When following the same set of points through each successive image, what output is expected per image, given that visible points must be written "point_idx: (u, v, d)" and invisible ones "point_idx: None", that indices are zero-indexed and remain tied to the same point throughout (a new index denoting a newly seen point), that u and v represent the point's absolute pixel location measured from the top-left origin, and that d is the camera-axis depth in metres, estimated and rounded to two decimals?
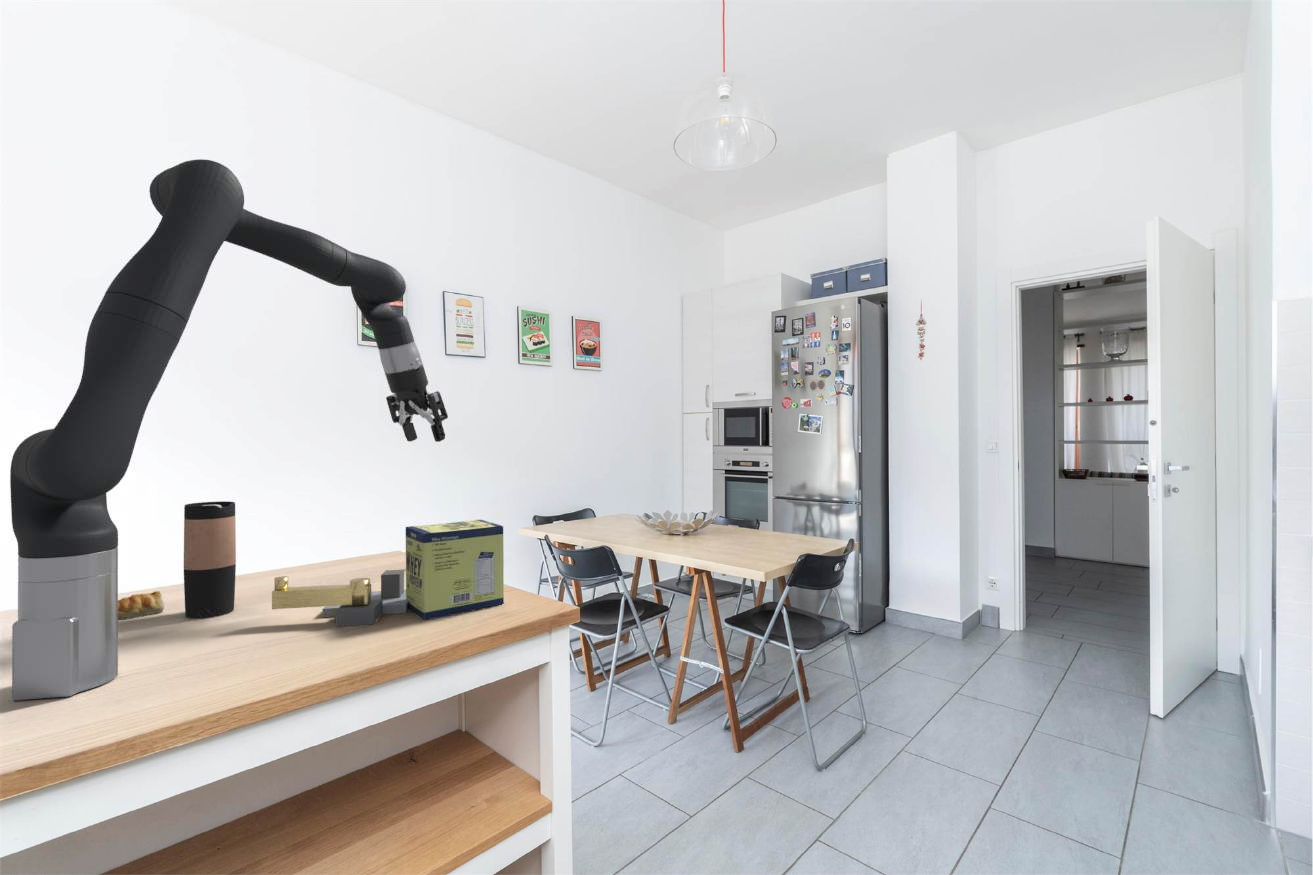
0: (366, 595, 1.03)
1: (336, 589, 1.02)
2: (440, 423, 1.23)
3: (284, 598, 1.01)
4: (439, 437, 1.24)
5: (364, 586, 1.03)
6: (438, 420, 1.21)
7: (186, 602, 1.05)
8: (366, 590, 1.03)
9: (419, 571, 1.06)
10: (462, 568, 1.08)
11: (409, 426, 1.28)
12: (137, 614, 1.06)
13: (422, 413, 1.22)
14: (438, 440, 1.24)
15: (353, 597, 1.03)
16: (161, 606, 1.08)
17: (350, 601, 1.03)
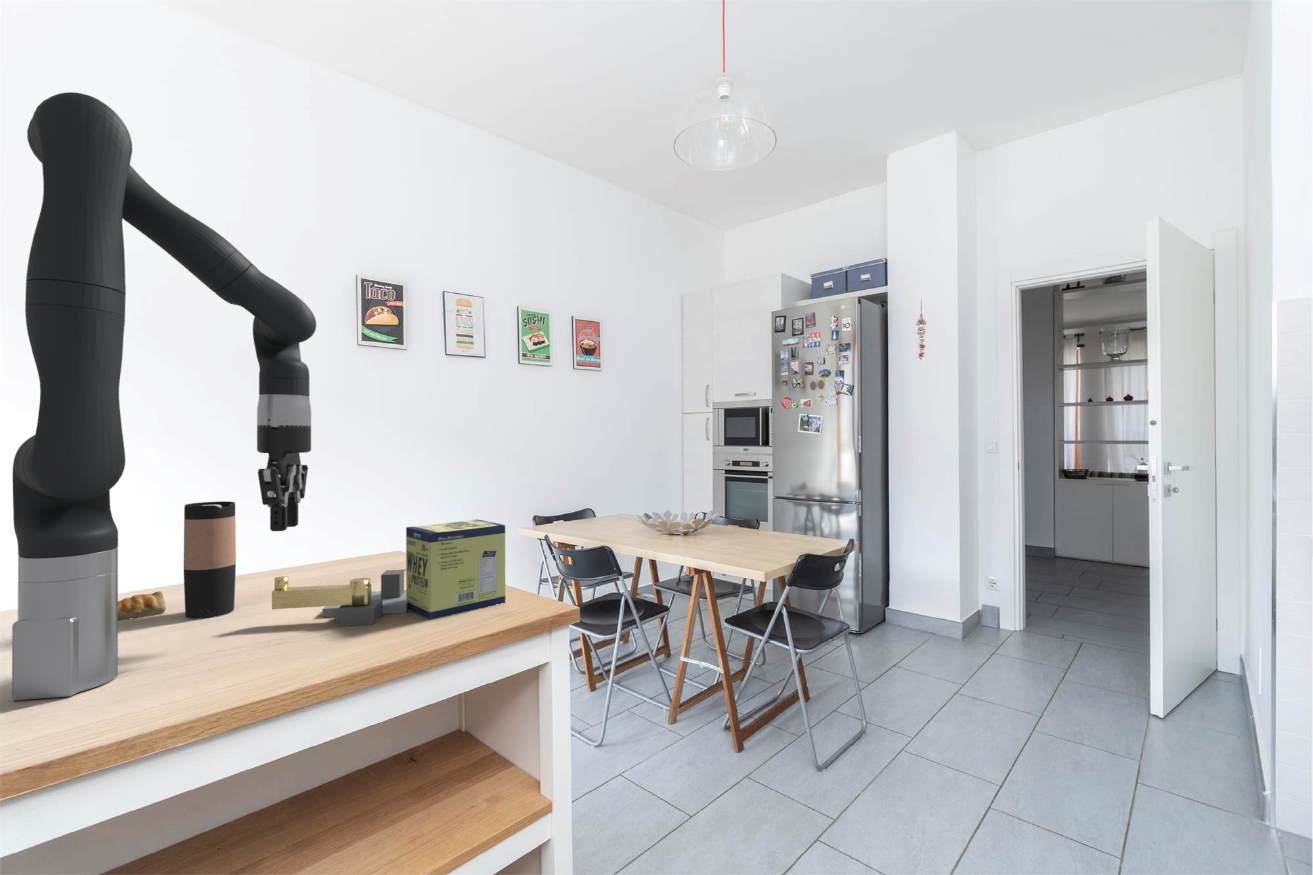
0: (366, 595, 1.03)
1: (336, 589, 1.02)
2: (278, 508, 0.94)
3: (284, 598, 1.01)
4: None
5: (364, 586, 1.03)
6: None
7: (186, 602, 1.05)
8: (366, 590, 1.03)
9: (425, 571, 1.06)
10: (466, 567, 1.09)
11: (289, 507, 0.99)
12: (139, 615, 1.06)
13: None
14: (272, 529, 0.94)
15: (353, 597, 1.03)
16: (163, 607, 1.08)
17: (350, 601, 1.03)
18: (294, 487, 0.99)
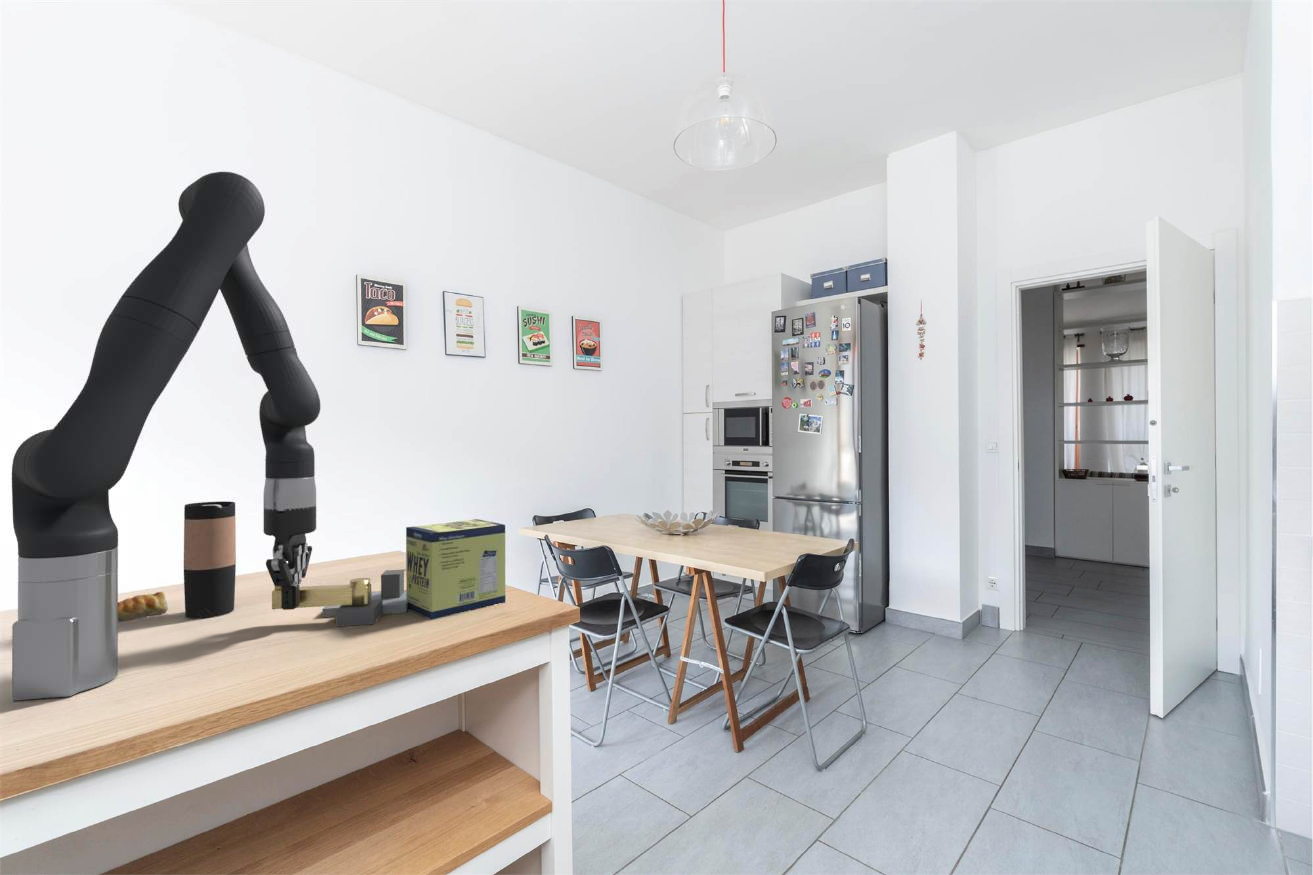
0: (366, 595, 1.03)
1: (336, 589, 1.02)
2: (288, 588, 0.98)
3: None
4: (283, 604, 0.98)
5: (364, 586, 1.03)
6: None
7: (186, 602, 1.05)
8: (366, 590, 1.03)
9: (426, 571, 1.06)
10: (467, 567, 1.10)
11: None
12: (141, 615, 1.05)
13: None
14: (283, 607, 0.98)
15: (353, 597, 1.03)
16: (165, 607, 1.08)
17: (350, 601, 1.03)
18: None
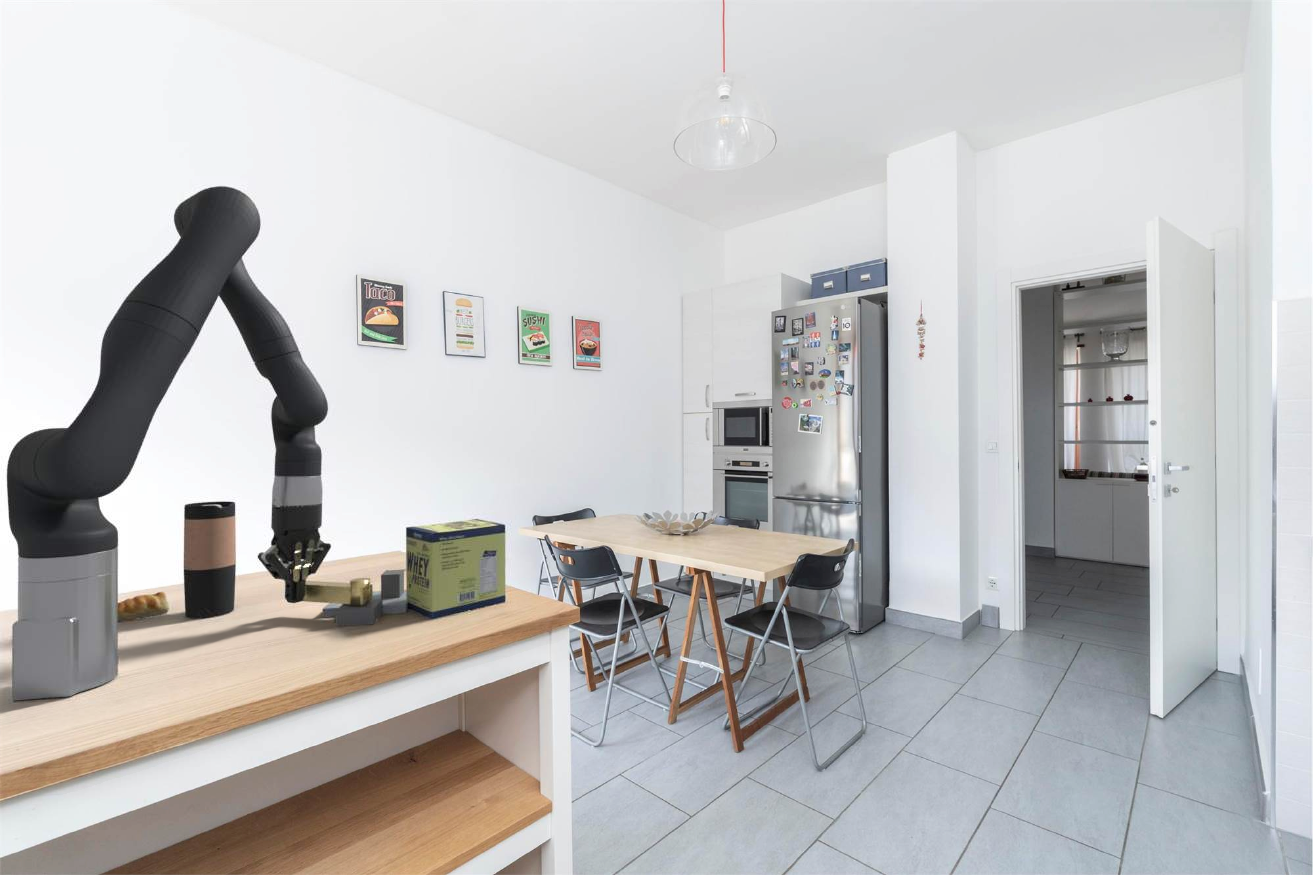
0: (362, 596, 1.03)
1: (337, 587, 1.04)
2: (289, 582, 1.02)
3: None
4: None
5: (360, 586, 1.03)
6: None
7: (186, 602, 1.05)
8: (362, 591, 1.03)
9: (426, 571, 1.06)
10: (467, 567, 1.10)
11: None
12: (142, 615, 1.05)
13: None
14: (288, 600, 1.03)
15: (351, 597, 1.03)
16: (166, 607, 1.08)
17: (349, 600, 1.03)
18: (302, 562, 1.03)
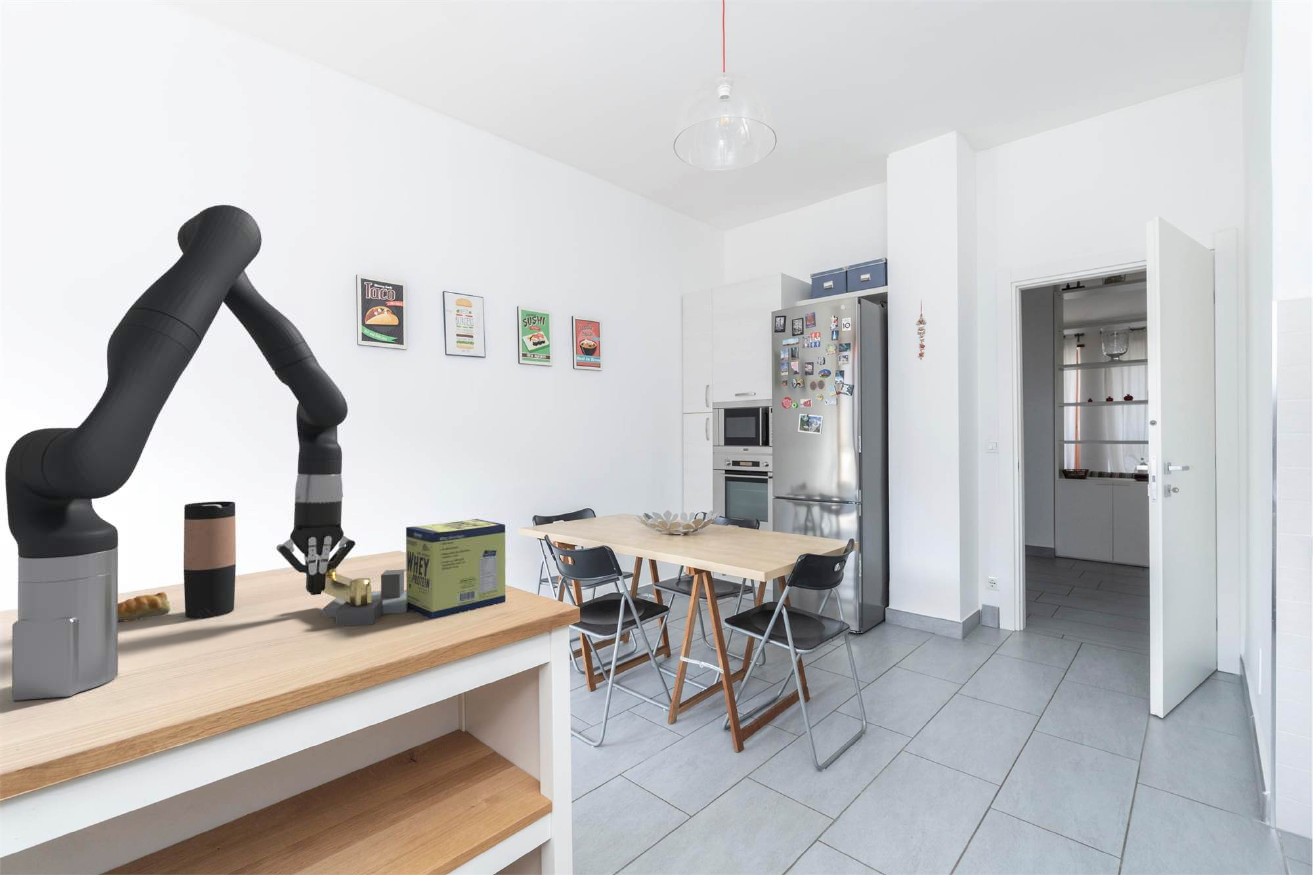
0: (356, 596, 1.03)
1: (344, 584, 1.06)
2: (307, 574, 1.07)
3: (325, 584, 1.11)
4: None
5: (355, 586, 1.03)
6: None
7: (186, 602, 1.05)
8: (356, 591, 1.03)
9: (426, 571, 1.06)
10: (467, 566, 1.10)
11: None
12: (143, 616, 1.05)
13: None
14: (310, 592, 1.08)
15: (350, 596, 1.04)
16: (168, 607, 1.08)
17: (349, 599, 1.04)
18: (320, 556, 1.08)
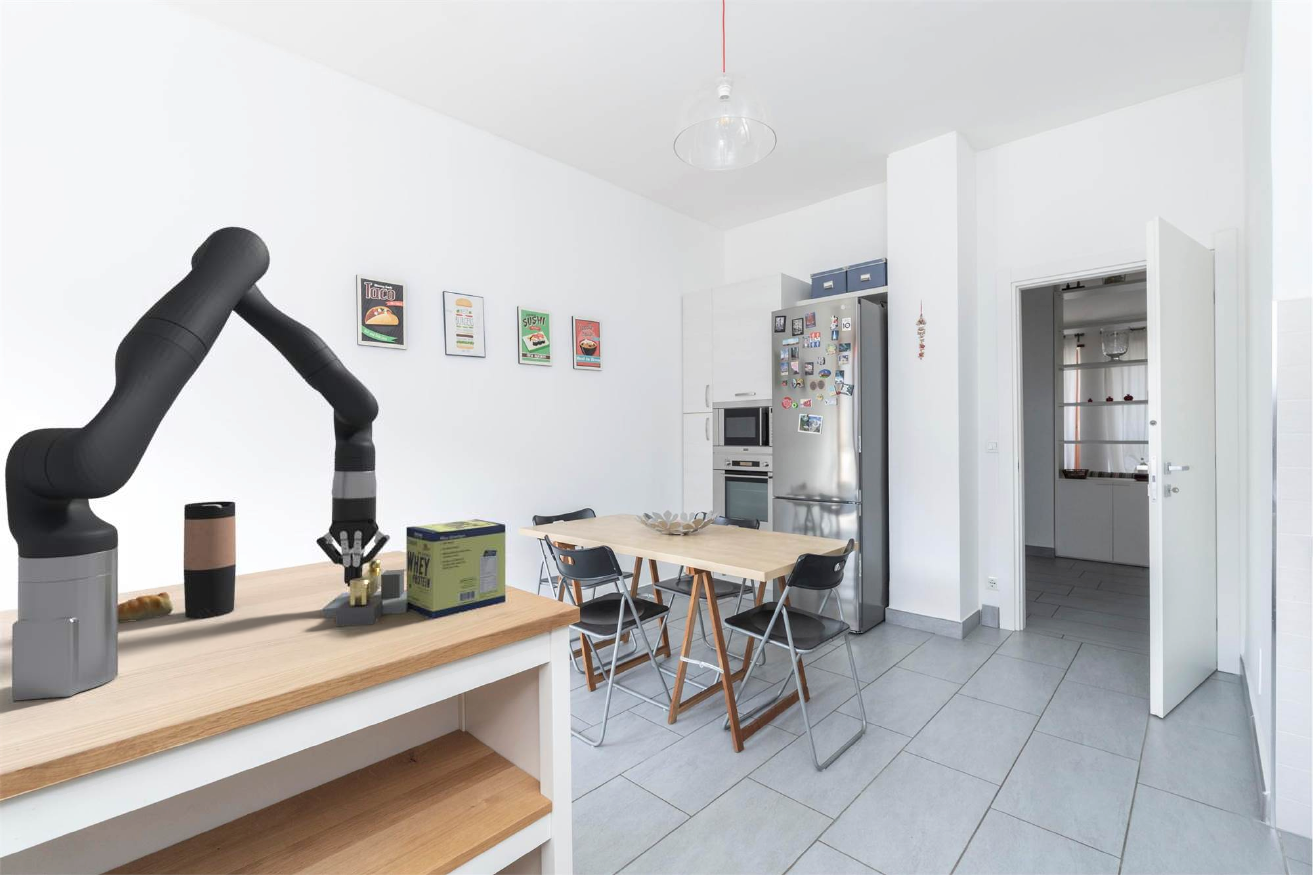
0: (350, 596, 1.03)
1: None
2: None
3: None
4: None
5: (350, 586, 1.03)
6: None
7: (186, 602, 1.05)
8: (350, 591, 1.03)
9: (426, 570, 1.06)
10: (468, 566, 1.10)
11: None
12: (146, 616, 1.05)
13: None
14: None
15: None
16: (170, 607, 1.08)
17: None
18: None
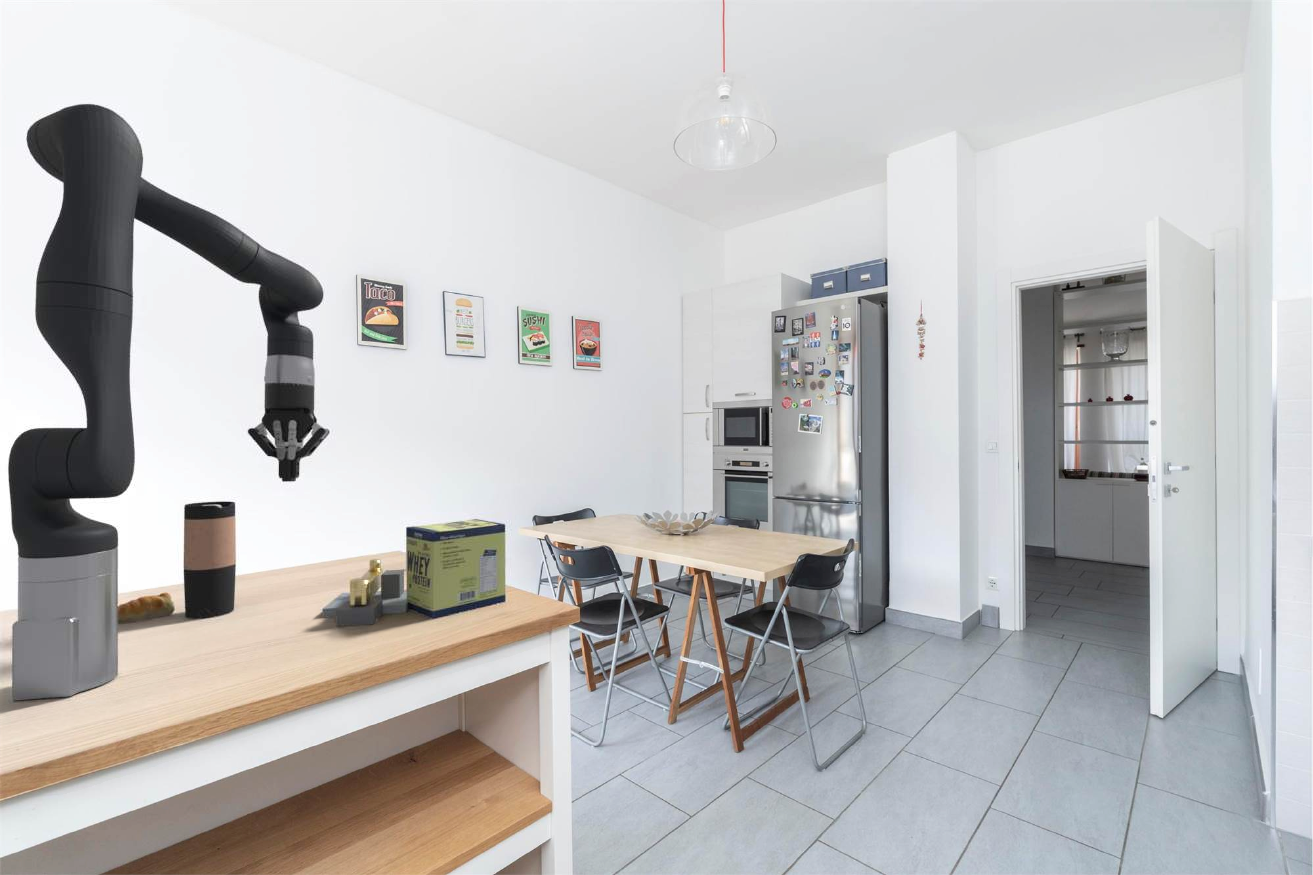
0: (350, 596, 1.03)
1: None
2: None
3: None
4: None
5: (350, 586, 1.03)
6: None
7: (186, 602, 1.05)
8: (350, 591, 1.03)
9: (427, 570, 1.06)
10: (468, 566, 1.10)
11: None
12: (148, 616, 1.05)
13: None
14: None
15: None
16: (172, 608, 1.08)
17: None
18: None
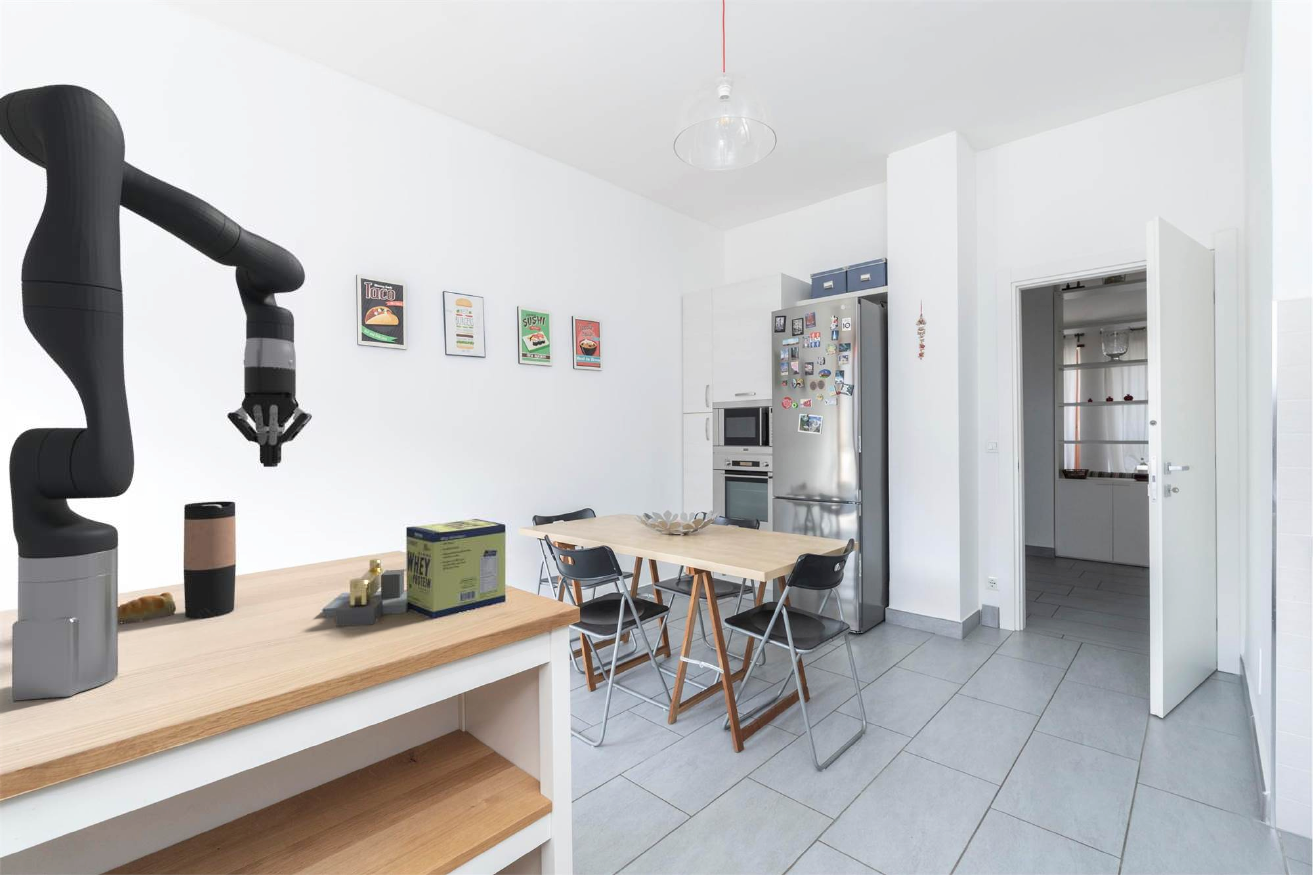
0: (350, 596, 1.03)
1: None
2: None
3: None
4: None
5: (350, 586, 1.03)
6: None
7: (186, 602, 1.05)
8: (350, 591, 1.03)
9: (427, 571, 1.06)
10: (468, 566, 1.10)
11: None
12: (150, 616, 1.05)
13: None
14: None
15: None
16: (174, 607, 1.08)
17: None
18: None
